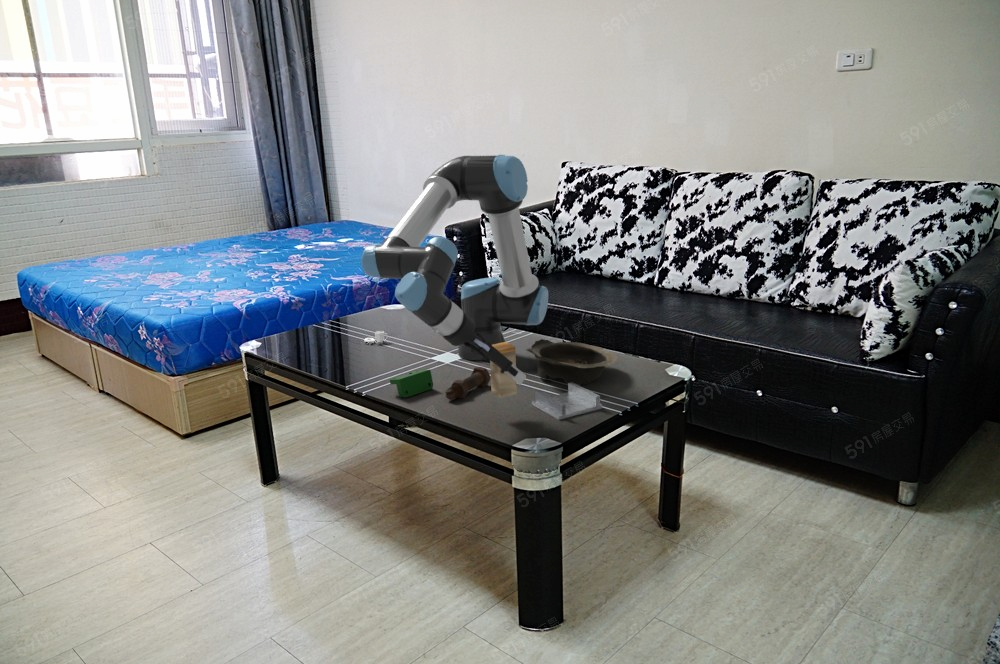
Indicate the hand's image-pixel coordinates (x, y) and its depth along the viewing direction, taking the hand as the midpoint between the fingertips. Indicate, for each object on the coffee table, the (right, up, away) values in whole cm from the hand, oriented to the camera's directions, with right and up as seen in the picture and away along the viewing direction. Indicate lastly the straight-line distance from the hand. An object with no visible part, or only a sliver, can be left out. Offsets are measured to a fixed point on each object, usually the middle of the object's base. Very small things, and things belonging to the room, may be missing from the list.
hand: (516, 377), depth 182 cm
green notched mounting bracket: (-28, -5, +20) cm, 35 cm away
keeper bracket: (+12, -8, +6) cm, 15 cm away
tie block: (-3, -4, -1) cm, 5 cm away
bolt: (-13, -6, +18) cm, 23 cm away
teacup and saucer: (-45, +8, +68) cm, 82 cm away
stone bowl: (+17, -2, +28) cm, 33 cm away
